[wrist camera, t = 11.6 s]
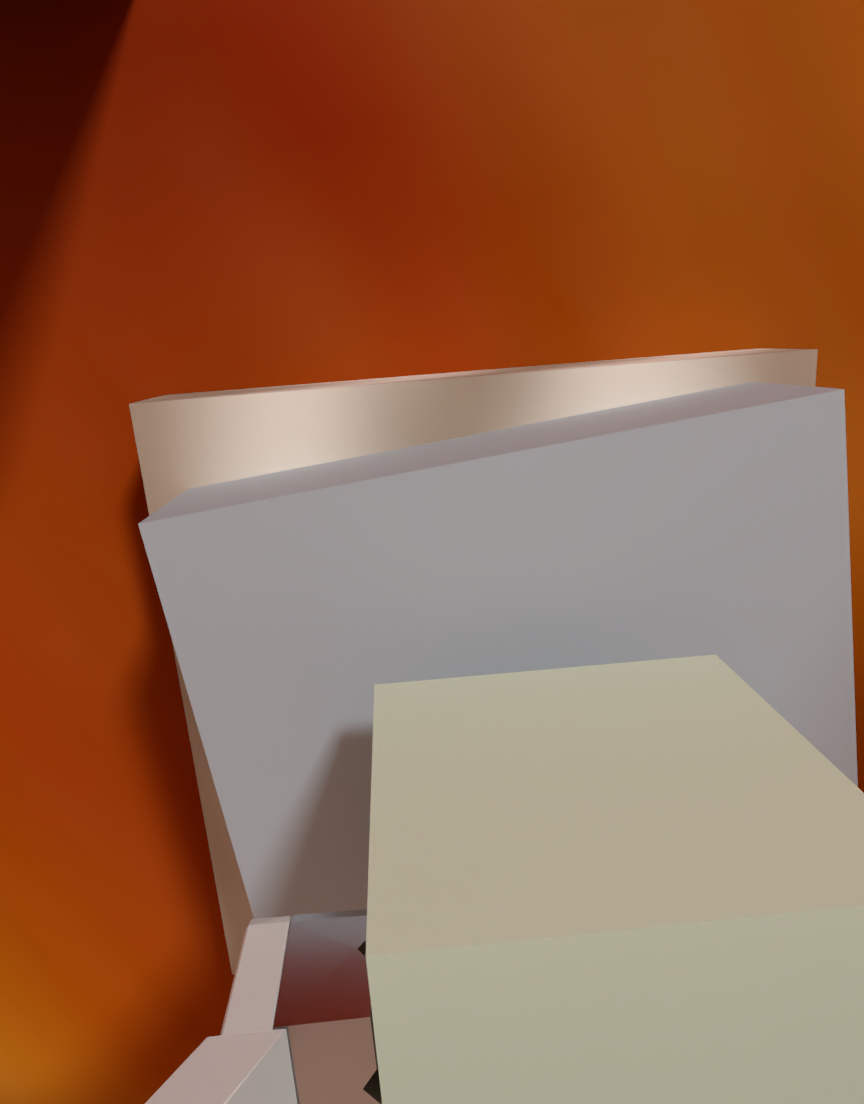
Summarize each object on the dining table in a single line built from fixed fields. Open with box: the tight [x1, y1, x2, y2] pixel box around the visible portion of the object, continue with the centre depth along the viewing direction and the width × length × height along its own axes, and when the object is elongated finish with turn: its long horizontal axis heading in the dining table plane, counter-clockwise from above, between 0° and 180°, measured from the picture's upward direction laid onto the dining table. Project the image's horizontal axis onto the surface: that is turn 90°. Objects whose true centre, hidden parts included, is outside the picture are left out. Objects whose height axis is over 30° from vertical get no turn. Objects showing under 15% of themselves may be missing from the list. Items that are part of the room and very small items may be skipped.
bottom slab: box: [129, 349, 818, 975], centre depth 17 cm, size 13×13×3 cm
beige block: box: [366, 655, 864, 1104], centre depth 9 cm, size 5×5×5 cm
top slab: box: [138, 382, 858, 919], centre depth 14 cm, size 11×11×3 cm
